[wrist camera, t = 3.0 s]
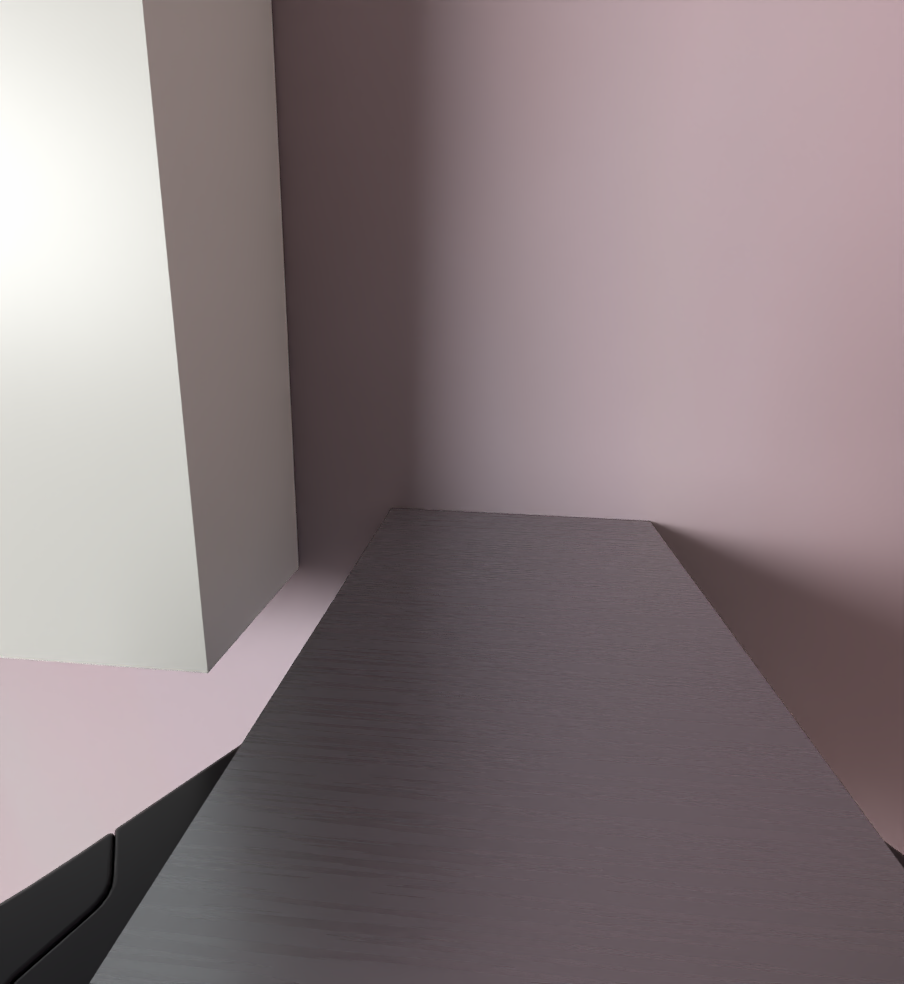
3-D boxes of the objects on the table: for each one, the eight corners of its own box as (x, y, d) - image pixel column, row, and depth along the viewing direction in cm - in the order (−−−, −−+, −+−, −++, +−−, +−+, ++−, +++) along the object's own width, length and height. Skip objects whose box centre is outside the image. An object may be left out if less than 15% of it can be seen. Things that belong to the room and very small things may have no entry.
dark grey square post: (649, 521, 10) (1072, 1101, 3) (623, 743, 11) (857, 1587, 4) (392, 508, 11) (89, 982, 3) (392, 724, 12) (179, 1461, 4)
